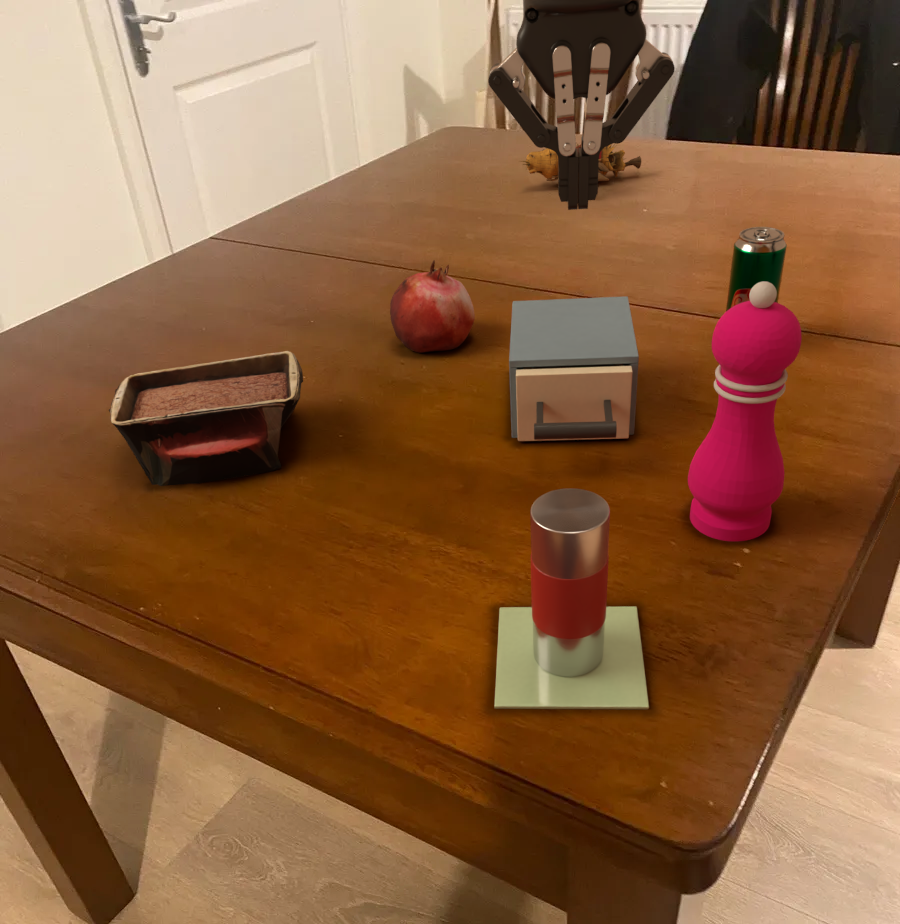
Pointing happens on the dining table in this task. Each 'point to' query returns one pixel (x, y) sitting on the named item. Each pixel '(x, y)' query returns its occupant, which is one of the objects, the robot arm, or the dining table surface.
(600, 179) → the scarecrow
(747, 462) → the pepper mill
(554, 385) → the drawer
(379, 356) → the dining table surface
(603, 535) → the tin
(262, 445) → the baking dish
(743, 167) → the dining table surface
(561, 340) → the cabinet
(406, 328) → the fruit
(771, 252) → the soda can
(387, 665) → the dining table surface
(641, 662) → the tile
